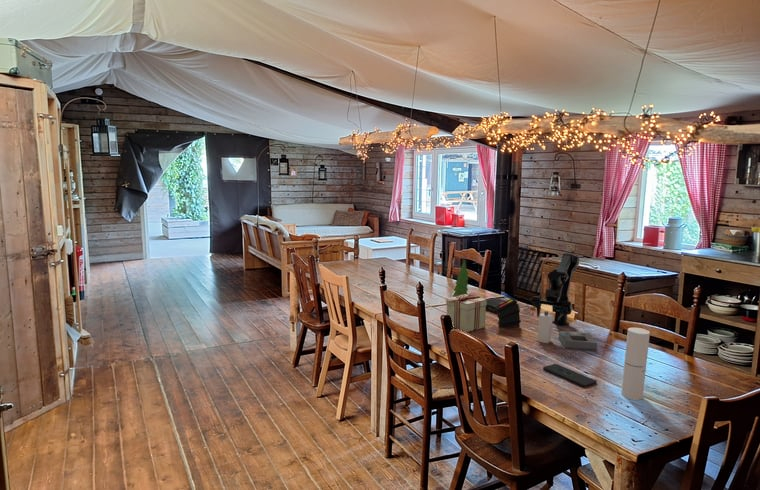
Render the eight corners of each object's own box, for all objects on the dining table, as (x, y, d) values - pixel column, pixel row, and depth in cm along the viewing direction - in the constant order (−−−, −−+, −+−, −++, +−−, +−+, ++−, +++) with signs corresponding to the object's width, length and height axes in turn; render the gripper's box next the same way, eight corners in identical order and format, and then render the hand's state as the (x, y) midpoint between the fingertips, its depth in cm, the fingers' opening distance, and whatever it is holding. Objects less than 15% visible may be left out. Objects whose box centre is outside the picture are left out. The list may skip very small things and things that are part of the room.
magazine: (525, 323, 263) (516, 299, 260) (504, 335, 261) (494, 311, 258) (522, 321, 267) (512, 297, 263) (501, 333, 265) (491, 309, 261)
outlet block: (558, 338, 246) (558, 330, 246) (588, 340, 245) (588, 332, 244) (564, 349, 233) (565, 340, 232) (596, 351, 231) (597, 342, 230)
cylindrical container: (617, 391, 190) (623, 327, 186) (635, 391, 190) (642, 327, 186) (628, 400, 183) (635, 334, 179) (646, 399, 183) (654, 333, 179)
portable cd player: (518, 310, 295) (519, 304, 294) (498, 315, 285) (498, 308, 285) (497, 303, 308) (498, 297, 308) (477, 307, 299) (478, 301, 298)
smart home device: (555, 363, 213) (597, 380, 196) (555, 366, 213) (597, 384, 196) (542, 366, 208) (584, 385, 192) (542, 370, 209) (583, 389, 192)
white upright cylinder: (540, 338, 247) (542, 309, 244) (550, 340, 244) (553, 311, 242) (537, 341, 242) (539, 311, 240) (548, 343, 240) (550, 313, 237)
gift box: (458, 319, 275) (459, 288, 272) (486, 327, 262) (488, 295, 259) (438, 325, 263) (439, 293, 260) (467, 334, 250) (469, 300, 247)
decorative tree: (468, 312, 288) (471, 260, 283) (452, 311, 288) (454, 260, 283) (466, 307, 297) (469, 257, 292) (450, 307, 297) (452, 257, 293)
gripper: (533, 280, 251) (525, 306, 243) (572, 285, 241) (565, 313, 233) (536, 292, 259) (529, 318, 251) (574, 298, 249) (568, 325, 241)
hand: (547, 318), depth 244 cm, fingers open, 9 cm apart
